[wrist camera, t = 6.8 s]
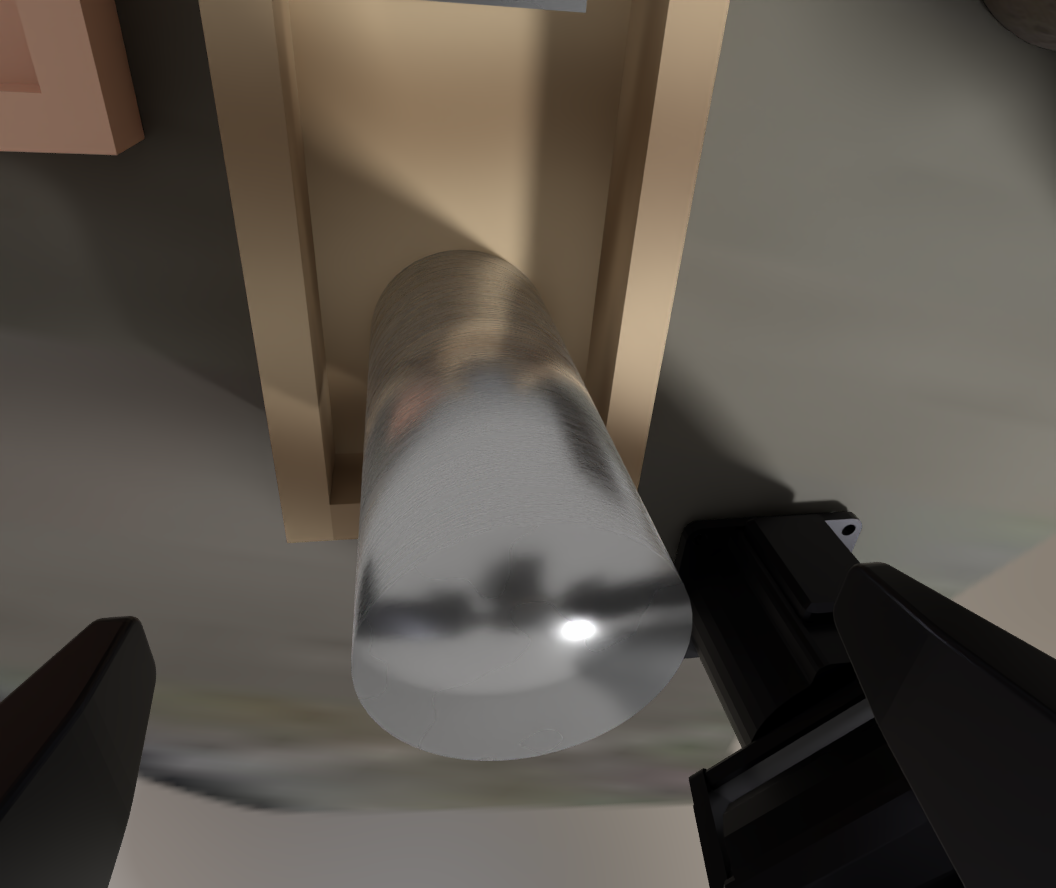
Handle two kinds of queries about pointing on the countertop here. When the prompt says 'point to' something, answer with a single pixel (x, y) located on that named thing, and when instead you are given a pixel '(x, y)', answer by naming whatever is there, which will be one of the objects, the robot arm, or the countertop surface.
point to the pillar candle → (1028, 19)
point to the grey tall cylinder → (499, 530)
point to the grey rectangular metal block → (530, 4)
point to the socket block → (453, 192)
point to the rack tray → (65, 79)
